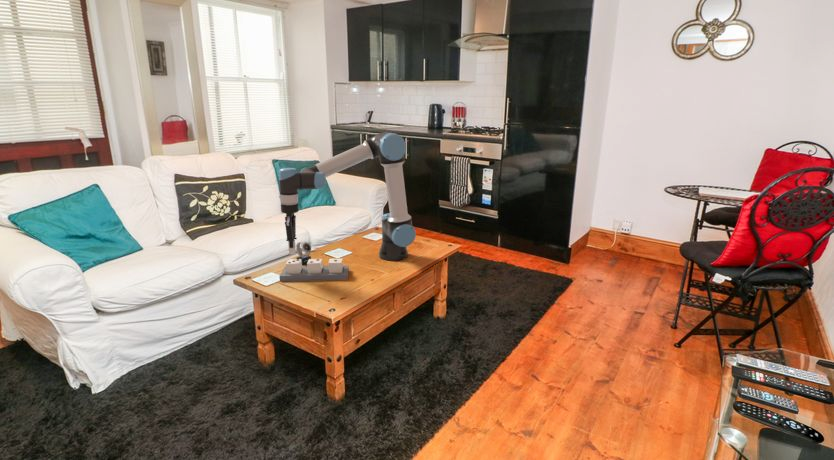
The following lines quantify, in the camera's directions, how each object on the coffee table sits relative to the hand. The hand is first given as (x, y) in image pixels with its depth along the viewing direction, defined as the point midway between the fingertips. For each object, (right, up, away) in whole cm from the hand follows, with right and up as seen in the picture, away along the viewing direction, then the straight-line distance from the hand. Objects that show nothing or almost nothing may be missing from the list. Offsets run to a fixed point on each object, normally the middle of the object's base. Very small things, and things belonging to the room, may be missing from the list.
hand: (292, 253), depth 206 cm
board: (+10, -10, +4) cm, 15 cm away
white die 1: (0, -8, +3) cm, 9 cm away
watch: (0, -6, +21) cm, 21 cm away
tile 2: (+10, -8, +3) cm, 13 cm away
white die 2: (+19, -8, +4) cm, 21 cm away
